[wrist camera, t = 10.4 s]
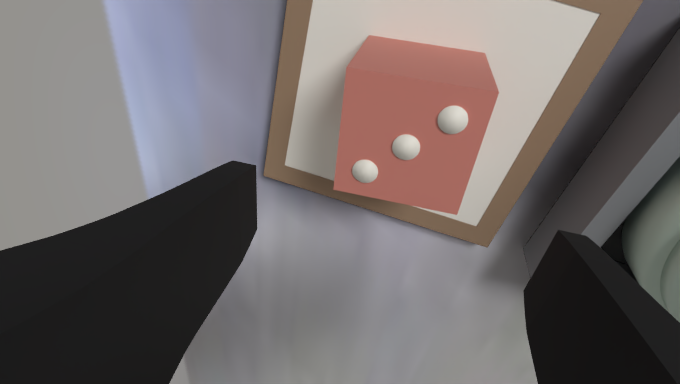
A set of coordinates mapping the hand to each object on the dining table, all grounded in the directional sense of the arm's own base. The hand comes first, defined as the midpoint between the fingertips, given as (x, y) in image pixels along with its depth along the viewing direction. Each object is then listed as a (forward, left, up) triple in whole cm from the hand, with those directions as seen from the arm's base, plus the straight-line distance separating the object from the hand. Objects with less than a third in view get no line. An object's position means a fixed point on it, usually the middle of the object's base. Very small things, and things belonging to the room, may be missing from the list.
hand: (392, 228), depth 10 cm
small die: (0, 0, -9) cm, 9 cm away
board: (0, 0, -9) cm, 9 cm away
